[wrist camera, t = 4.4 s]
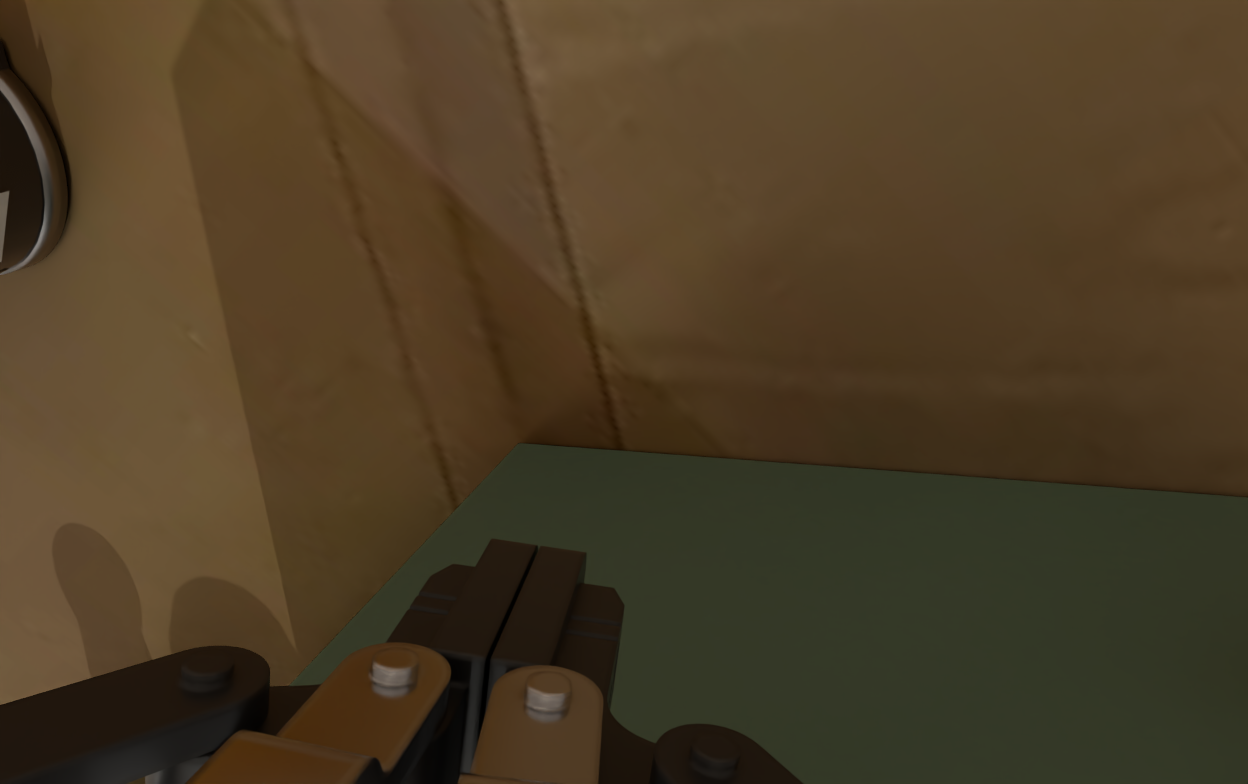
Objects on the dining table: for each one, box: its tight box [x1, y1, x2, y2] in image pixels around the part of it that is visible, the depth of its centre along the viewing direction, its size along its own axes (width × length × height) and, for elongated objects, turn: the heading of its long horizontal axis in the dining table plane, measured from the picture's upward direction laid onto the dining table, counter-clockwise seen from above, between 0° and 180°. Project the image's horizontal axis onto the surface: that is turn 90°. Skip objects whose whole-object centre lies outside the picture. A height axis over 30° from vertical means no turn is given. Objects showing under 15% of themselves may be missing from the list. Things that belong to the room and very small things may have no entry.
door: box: [289, 443, 1248, 784], centre depth 20 cm, size 6×26×24 cm, turn 93°
